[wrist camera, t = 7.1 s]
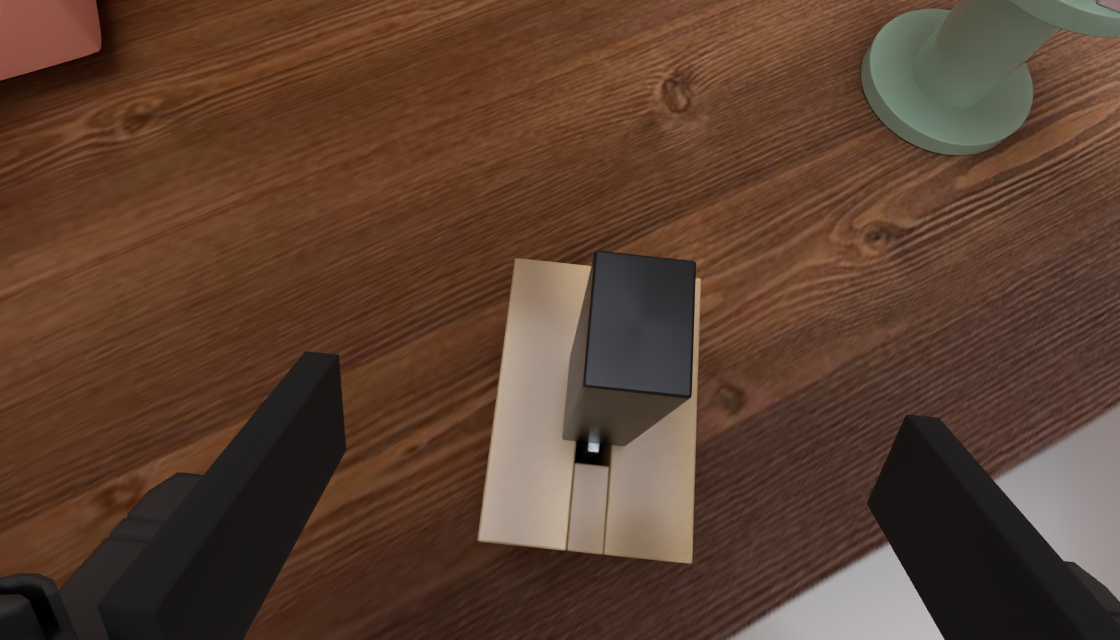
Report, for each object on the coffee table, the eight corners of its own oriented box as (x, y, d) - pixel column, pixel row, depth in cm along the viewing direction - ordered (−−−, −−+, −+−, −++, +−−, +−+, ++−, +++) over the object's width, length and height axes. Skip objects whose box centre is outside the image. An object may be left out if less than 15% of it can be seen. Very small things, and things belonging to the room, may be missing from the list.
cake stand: (1044, 55, 35) (1235, -116, 26) (1006, 192, 32) (1206, 57, 23) (880, -10, 36) (1005, -198, 26) (828, 118, 33) (948, -42, 24)
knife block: (664, 329, 29) (701, 277, 23) (653, 552, 26) (693, 564, 20) (518, 313, 29) (514, 257, 23) (490, 535, 26) (476, 541, 20)
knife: (609, 389, 28) (697, 247, 13) (603, 469, 27) (691, 413, 12) (562, 384, 28) (596, 236, 13) (554, 463, 27) (581, 401, 12)
